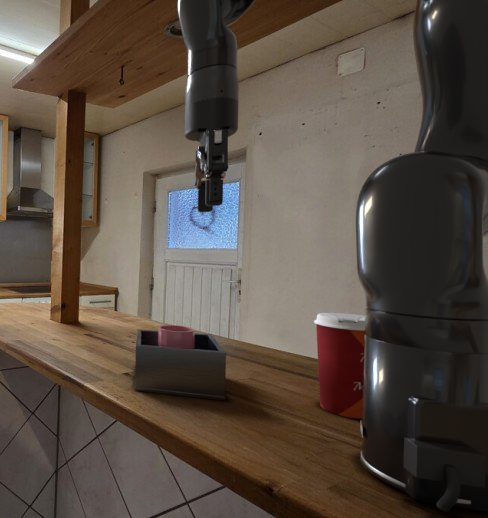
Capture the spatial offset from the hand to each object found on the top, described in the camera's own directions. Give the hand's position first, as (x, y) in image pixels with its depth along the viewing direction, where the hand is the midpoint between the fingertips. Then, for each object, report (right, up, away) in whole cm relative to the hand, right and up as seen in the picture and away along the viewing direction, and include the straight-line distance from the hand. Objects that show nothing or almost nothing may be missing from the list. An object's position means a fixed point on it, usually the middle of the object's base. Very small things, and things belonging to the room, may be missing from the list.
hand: (209, 209), depth 58 cm
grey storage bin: (-2, -30, +8) cm, 31 cm away
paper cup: (+19, -31, -3) cm, 36 cm away
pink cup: (-2, -29, +9) cm, 31 cm away
